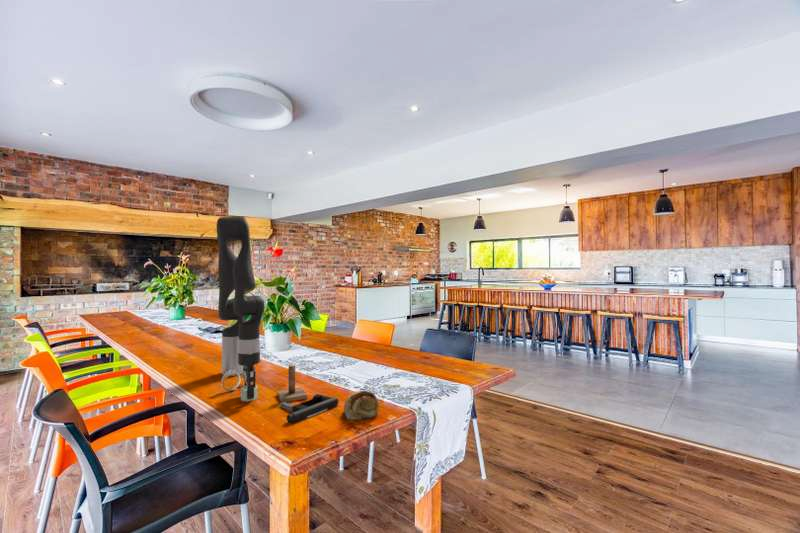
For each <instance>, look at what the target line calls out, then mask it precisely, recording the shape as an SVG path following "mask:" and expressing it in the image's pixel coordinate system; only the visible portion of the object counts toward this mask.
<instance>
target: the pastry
mask: <svg viewBox="0 0 800 533" xmlns="http://www.w3.org/2000/svg"><path fill="white" fill-rule="evenodd" d="M343 406H344V407H343V413H344V414H345V417H346V419H347V420H349V421H361V420H365V419H366V420H367V419H372V418H375V417H376V415H377V413H378V411H379V408H380V402H379V400H378V397H377V396H376V395H375V393H373V392H372V391H367V390H359V391H358V390H357V391H354V392H352V393H351V394H350V395H348V397H347V398H346V400H345V402H344V404H343Z"/></svg>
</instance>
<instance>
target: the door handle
mask: <svg viewBox="0 0 800 533" xmlns="http://www.w3.org/2000/svg"><path fill="white" fill-rule="evenodd" d="M339 401H340V400H339V398H338V397H336V396H334V397H332V396H327V395H322V394H318V393H317V394H314V395H313V396H312V399H309V400H307V401H303V402H300V403H298V404H291V403H290V402H283V403H282V402H280V403H279V405H280V406H279V407H280V408H282V409H285V410H287V411H288V412H291V413H289V414H287V415H286V421H287V422H288V424H291V423H296V422H298V421H301V420H303V419H309V418H312V417H313V416H317V415H319V414H322V413H324V412H327V411H328V410H329V409H331V408H334V407H337V406H338V405H339Z"/></svg>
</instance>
